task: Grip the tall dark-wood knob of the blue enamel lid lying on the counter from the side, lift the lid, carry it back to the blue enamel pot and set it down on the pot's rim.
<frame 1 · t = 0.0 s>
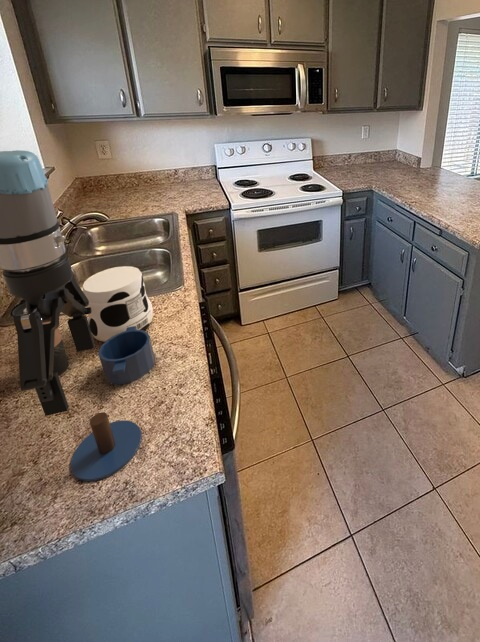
hand: (73, 377, 58), 27 cm above the counter, tool pointing down, fingers open, 13 cm apart
milk container: (125, 329, 111), on the counter
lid: (107, 449, 74), point 1 cm above the counter
pot: (130, 368, 96), on the counter
travel mug: (53, 370, 96), on the counter
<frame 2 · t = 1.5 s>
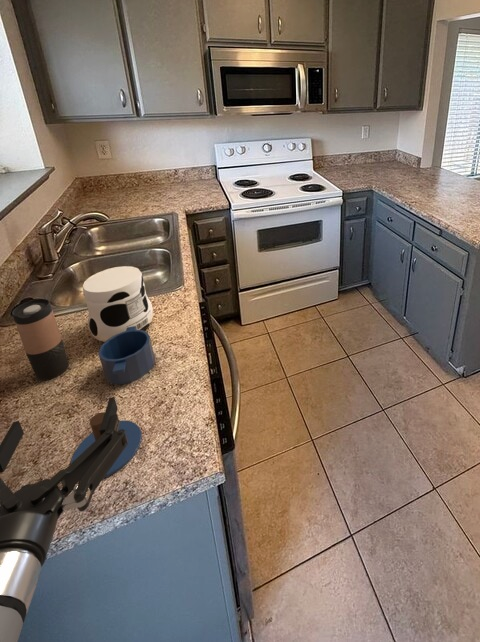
hand: (67, 414, 59), 20 cm above the counter, tool horizontal, fingers open, 13 cm apart
nothing on the counter moved.
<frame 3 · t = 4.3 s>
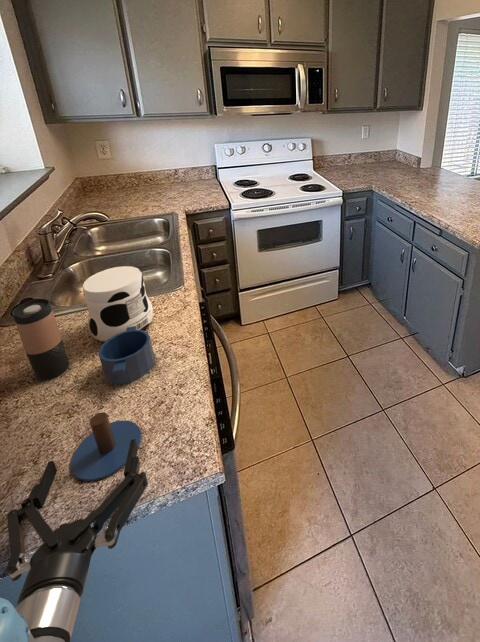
hand: (94, 454, 67), 6 cm above the counter, tool horizontal, fingers open, 13 cm apart
nothing on the counter moved.
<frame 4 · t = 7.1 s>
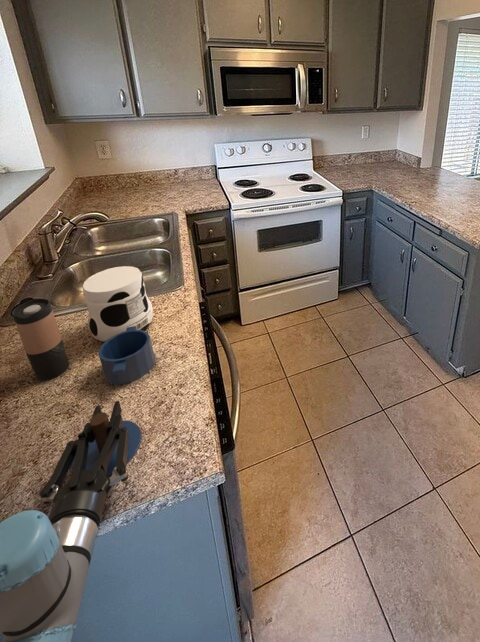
hand: (108, 408, 77), 6 cm above the counter, tool horizontal, fingers closed on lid, 3 cm apart
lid: (107, 449, 74), point 1 cm above the counter, touching gripper
everything else where it was.
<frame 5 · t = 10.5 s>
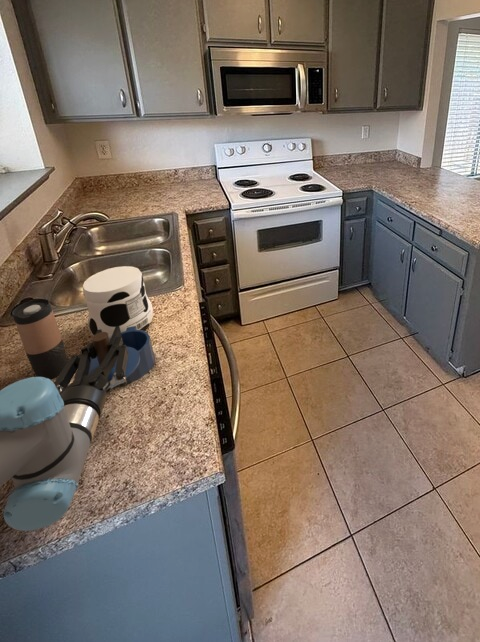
hand: (109, 332, 82), 18 cm above the counter, tool horizontal, fingers closed on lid, 3 cm apart
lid: (108, 368, 79), point 13 cm above the counter, touching gripper
everything else where it was.
when the fingers open (13 cm above the counter, at t = 13.9 s): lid stays where it is, resting on pot.
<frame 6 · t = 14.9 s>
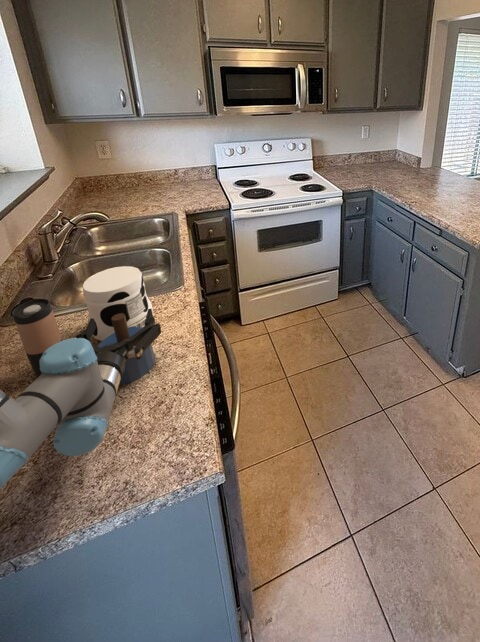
hand: (122, 317, 94), 14 cm above the counter, tool horizontal, fingers open, 13 cm apart
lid: (125, 344, 93), point 8 cm above the counter, touching pot
everything else where it was.
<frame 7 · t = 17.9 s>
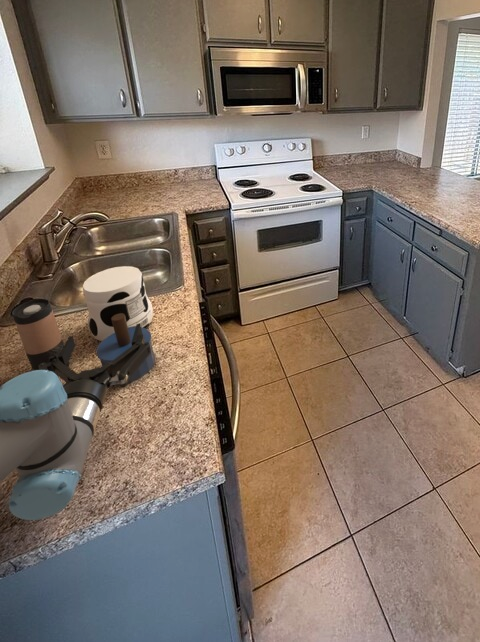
hand: (106, 334, 81), 18 cm above the counter, tool horizontal, fingers open, 13 cm apart
nothing on the counter moved.
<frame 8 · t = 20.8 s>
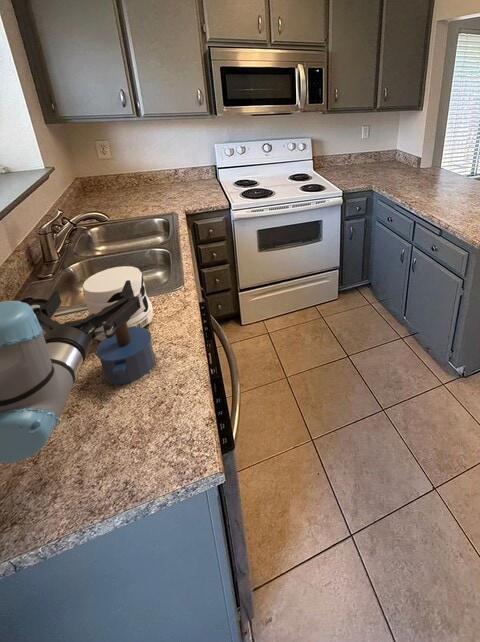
hand: (94, 291, 77), 30 cm above the counter, tool horizontal, fingers open, 13 cm apart
nothing on the counter moved.
at the end: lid 0.1 cm off-centre on the pot, point 8.0 cm above the pot's base; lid tilted 0°; the gripper is holding nothing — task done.
